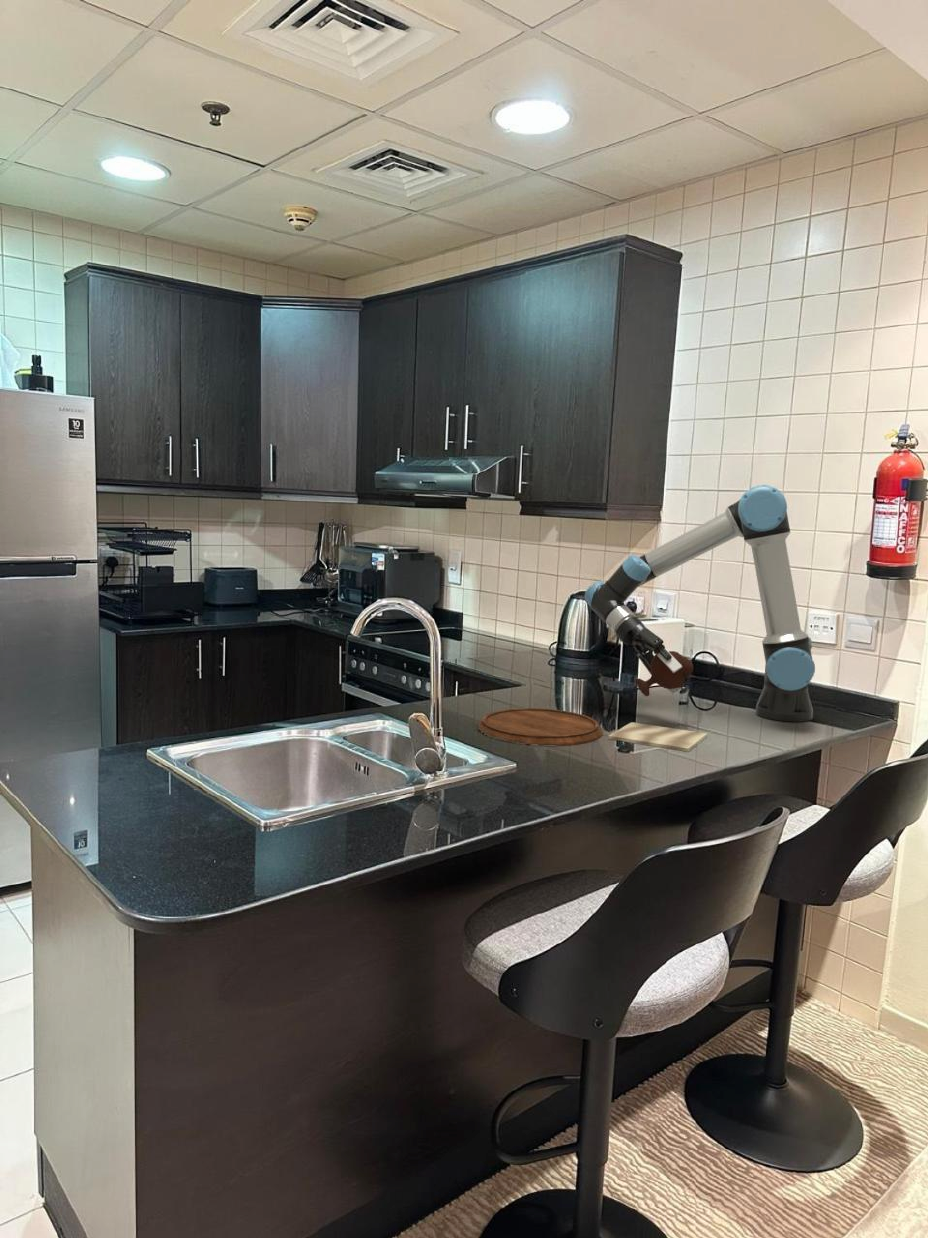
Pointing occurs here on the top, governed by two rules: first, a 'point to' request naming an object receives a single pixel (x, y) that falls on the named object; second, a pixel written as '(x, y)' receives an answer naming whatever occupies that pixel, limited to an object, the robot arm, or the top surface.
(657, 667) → the chocolate ice cream sundae
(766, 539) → the robot arm
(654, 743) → the birch pad
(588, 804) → the top surface
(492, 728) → the cutting board
